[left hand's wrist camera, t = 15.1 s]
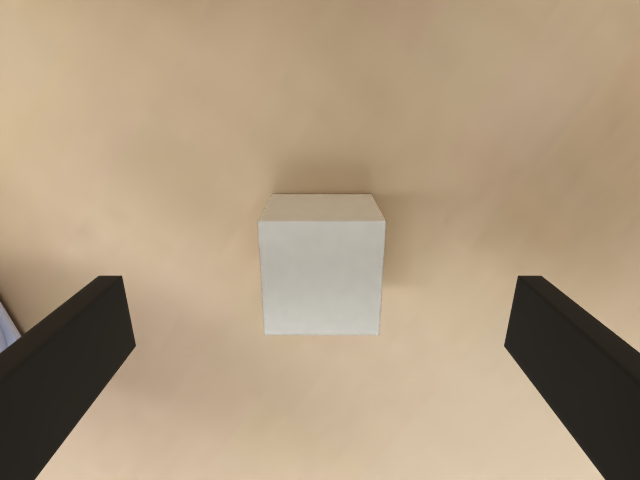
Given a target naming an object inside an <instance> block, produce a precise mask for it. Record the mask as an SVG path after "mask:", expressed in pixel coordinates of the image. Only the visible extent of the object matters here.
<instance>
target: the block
mask: <svg viewBox="0 0 640 480" xmlns="http://www.w3.org/2000/svg"><path fill="white" fill-rule="evenodd" d="M385 231H386V220H385V219H384V217H383V215H382V213H381V211H380V209H379V207H378V206H377V204H376V202H375V200H374V198H373V196H372V195H371V194H272V196H271V198H270V200H269V201H268V203H267V205H266V207H265V209H264V211H263V212H262V214H261V216H260V218H259V220H258V237H259V254H260V270H261V287H262V303H263V319H264V334H265V335H379V330H380V314H381V297H382V281H383V264H384V248H385Z"/></svg>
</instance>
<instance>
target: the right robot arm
mask: <svg viewBox="0 0 640 480" xmlns="http://www.w3.org/2000/svg"><path fill="white" fill-rule="evenodd" d="M20 337H21V335H20V333H19V331H18V330H17V328H16V326H15V325H14V323H13V322H12V320H11V318H10V317H9V315H8V313H7V312H6V310H5V308H4V307H3V305H2V304H1V302H0V353H1V352H2V351H3V350H5V349H6V348H7V347H9V346H10V345H11V344H12V343H14V342H15V341H16V340H17V339H19V338H20Z"/></svg>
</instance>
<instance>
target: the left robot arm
mask: <svg viewBox="0 0 640 480" xmlns="http://www.w3.org/2000/svg"><path fill="white" fill-rule="evenodd" d="M135 346H136V344H135V339H134V334H133V329H132V324H131V319H130V314H129V309H128V304H127V299H126V294H125V289H124V284H123V279H122V276H98V277H97V278H95V279H94V280H93V281H92V282H90V283H89V284H88V285H86V286H85V287H84V288H83V289H81V290H80V291H79V292H78V293H76V294H75V295H74V296H72V297H71V298H70V299H69V300H67V301H66V302H65V303H63V304H62V305H61V306H60V307H58V308H57V309H56V310H55V311H53V312H52V313H51V314H49V315H48V316H47V317H46V318H44V319H43V320H42V321H40V322H39V323H38V324H37V325H35V326H34V327H33V328H32V329H30V330H29V331H28V332H26V333H25V334H24V335H23V336H21V337H20V338H19V339H17V340H16V341H15V342H14V343H12V344H11V345H10V346H9V347H7V348H6V349H5V350H3V351H2V352H1V353H0V480H35V479H36V477H37V476H38V475H39V473H40V472H41V471H42V469H43V468H44V467H45V465H46V464H47V463H48V461H49V460H50V459H51V457H52V456H53V455H54V454H55V452H56V451H57V450H58V448H59V447H60V446H61V444H62V443H63V442H64V440H65V439H66V438H67V436H68V435H69V434H70V432H71V431H72V430H73V428H74V427H75V426H76V424H77V423H78V422H79V420H80V419H81V418H82V417H83V415H84V414H85V413H86V411H87V410H88V409H89V407H90V406H91V405H92V403H93V402H94V401H95V399H96V398H97V397H98V395H99V394H100V393H101V391H102V390H103V389H104V387H105V386H106V385H107V383H108V382H109V381H110V379H111V378H112V377H113V376H114V374H115V373H116V372H117V370H118V369H119V368H120V366H121V365H122V364H123V362H124V361H125V360H126V358H127V357H128V356H129V354H130V353H131V352H132V350H133V349H134V348H135ZM504 346H505V348H506V349H507V350H508V352H509V353H510V354H511V356H512V357H513V358H514V360H515V361H516V362H517V364H518V365H519V366H520V368H521V369H522V370H523V372H524V373H525V374H526V376H527V377H528V378H529V380H530V381H531V382H532V383H533V385H534V386H535V387H536V389H537V390H538V391H539V393H540V394H541V395H542V397H543V398H544V399H545V401H546V402H547V403H548V405H549V406H550V407H551V409H552V410H553V411H554V413H555V414H556V415H557V417H558V418H559V419H560V420H561V422H562V423H563V424H564V426H565V427H566V428H567V430H568V431H569V432H570V434H571V435H572V436H573V438H574V439H575V440H576V442H577V443H578V444H579V446H580V447H581V448H582V450H583V451H584V452H585V454H586V455H587V456H588V457H589V459H590V460H591V461H592V463H593V464H594V465H595V467H596V468H597V469H598V471H599V472H600V473H601V475H602V476H603V477H604V479H605V480H640V353H639V352H638V351H637V350H635V349H634V348H633V347H631V346H630V345H629V344H628V343H626V342H625V341H624V340H623V339H621V338H620V337H619V336H617V335H616V334H615V333H614V332H612V331H611V330H610V329H608V328H607V327H606V326H605V325H603V324H602V323H601V322H600V321H598V320H597V319H596V318H594V317H593V316H592V315H591V314H589V313H588V312H587V311H585V310H584V309H583V308H582V307H580V306H579V305H578V304H577V303H575V302H574V301H573V300H571V299H570V298H569V297H568V296H566V295H565V294H564V293H562V292H561V291H560V290H559V289H557V288H556V287H555V286H554V285H552V284H551V283H550V282H548V281H547V280H546V279H545V278H543V277H542V276H518V279H517V284H516V289H515V294H514V299H513V304H512V309H511V314H510V319H509V324H508V329H507V334H506V339H505V344H504Z"/></svg>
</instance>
